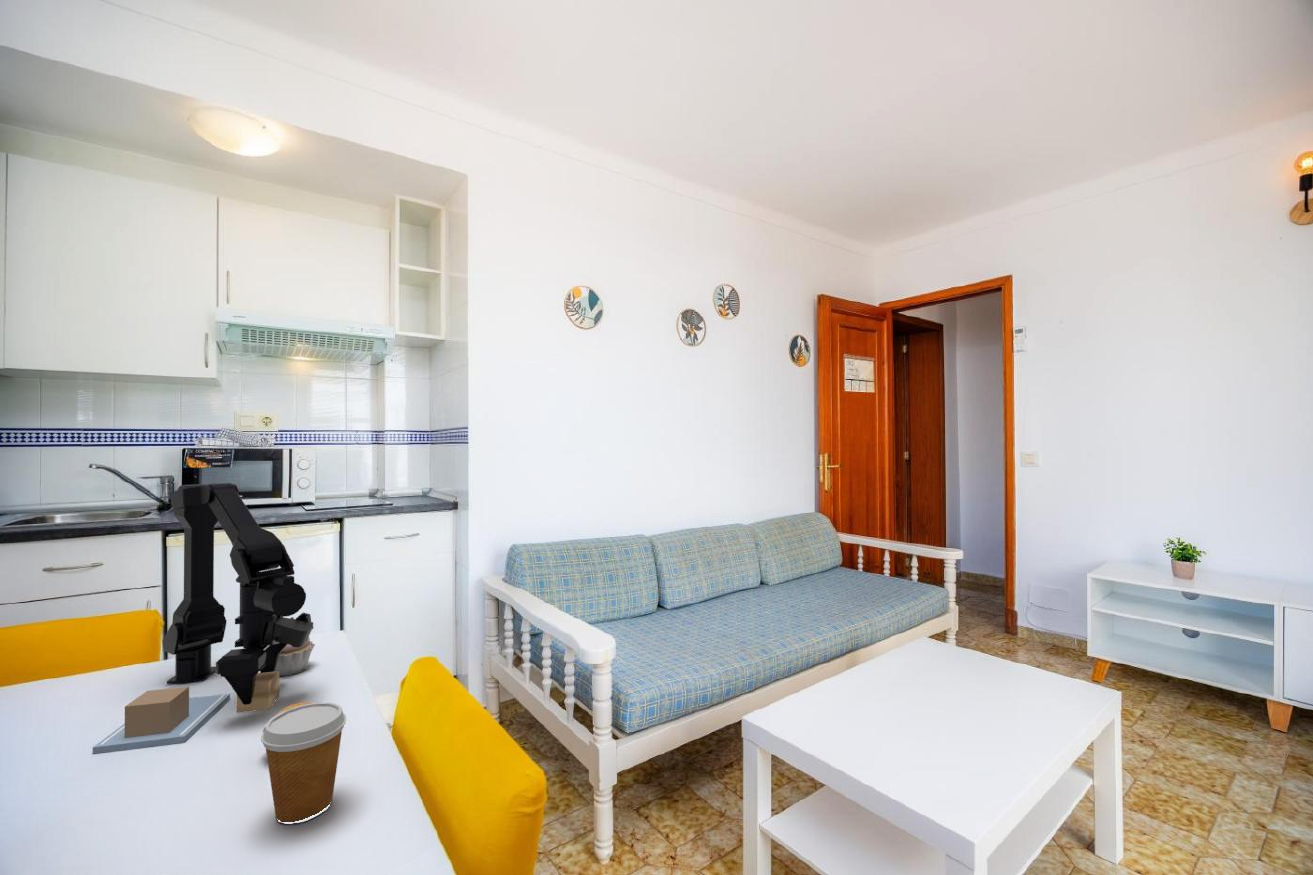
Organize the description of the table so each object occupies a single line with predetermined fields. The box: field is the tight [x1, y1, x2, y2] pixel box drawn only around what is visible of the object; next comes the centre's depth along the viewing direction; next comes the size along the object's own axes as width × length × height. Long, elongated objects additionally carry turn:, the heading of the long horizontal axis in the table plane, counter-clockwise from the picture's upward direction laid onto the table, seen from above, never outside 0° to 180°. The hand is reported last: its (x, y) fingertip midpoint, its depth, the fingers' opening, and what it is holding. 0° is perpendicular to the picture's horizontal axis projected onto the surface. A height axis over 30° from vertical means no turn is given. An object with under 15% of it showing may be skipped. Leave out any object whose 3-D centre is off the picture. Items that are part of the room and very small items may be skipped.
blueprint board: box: [92, 686, 231, 755], centre depth 96 cm, size 16×12×6 cm
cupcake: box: [275, 636, 316, 677], centre depth 119 cm, size 9×9×10 cm
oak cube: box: [236, 671, 280, 713], centre depth 103 cm, size 5×5×5 cm
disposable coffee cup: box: [260, 702, 347, 822], centre depth 74 cm, size 10×10×12 cm
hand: (258, 692), depth 103 cm, fingers open, 9 cm apart
